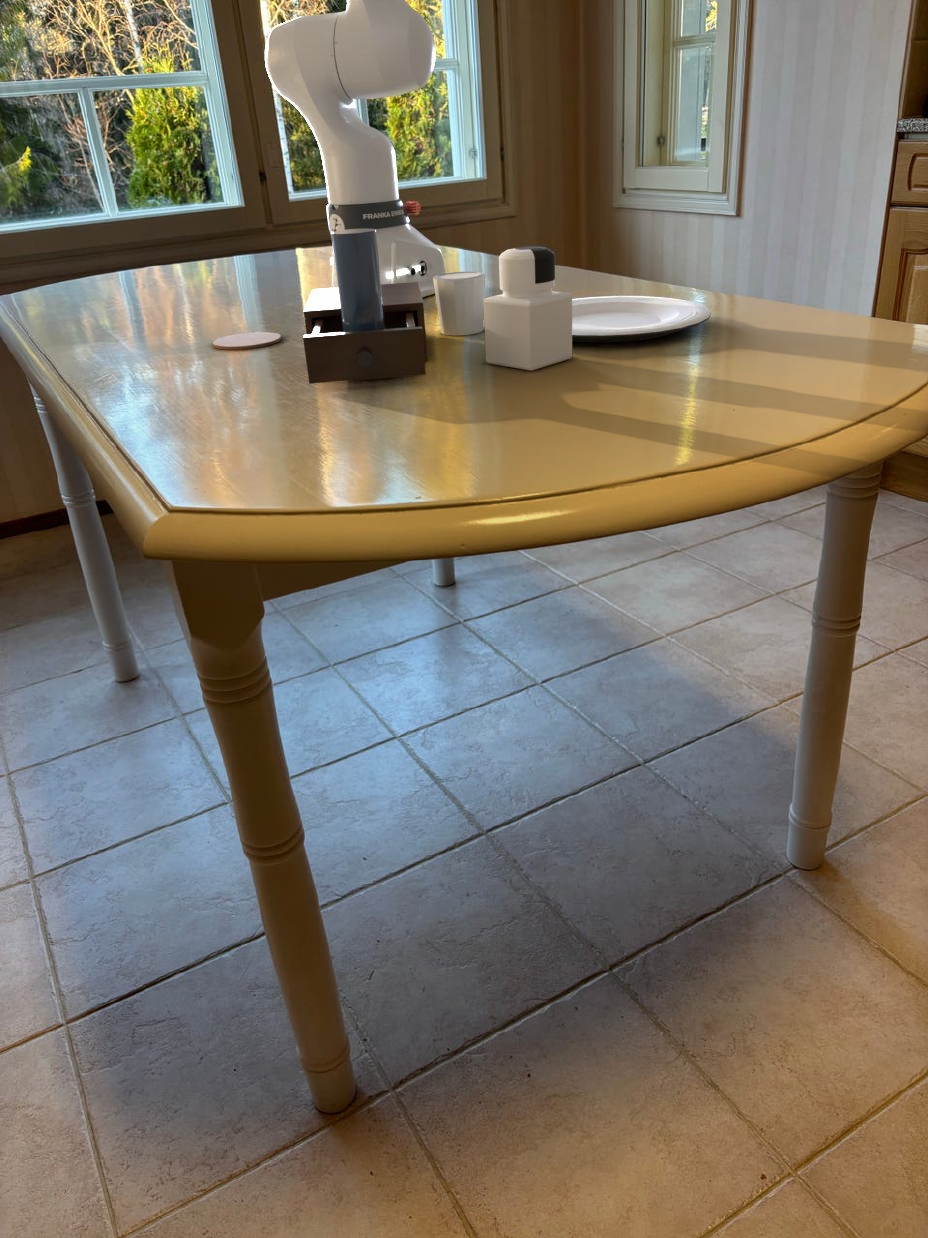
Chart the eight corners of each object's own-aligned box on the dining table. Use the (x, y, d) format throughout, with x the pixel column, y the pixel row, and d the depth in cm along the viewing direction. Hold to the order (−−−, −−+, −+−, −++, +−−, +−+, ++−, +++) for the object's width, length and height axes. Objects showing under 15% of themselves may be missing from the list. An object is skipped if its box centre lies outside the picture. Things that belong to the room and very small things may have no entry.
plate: (649, 302, 129) (650, 288, 128) (750, 333, 108) (752, 317, 107) (486, 323, 123) (485, 308, 122) (559, 359, 102) (559, 342, 101)
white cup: (482, 335, 115) (480, 278, 112) (431, 336, 117) (427, 280, 113) (492, 324, 121) (489, 270, 118) (442, 325, 123) (439, 271, 119)
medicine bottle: (526, 351, 106) (524, 242, 101) (573, 358, 102) (573, 245, 96) (484, 363, 102) (479, 250, 96) (531, 371, 98) (529, 253, 92)
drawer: (426, 377, 94) (422, 330, 92) (308, 386, 94) (301, 339, 92) (420, 345, 108) (417, 304, 106) (317, 353, 108) (312, 312, 105)
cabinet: (427, 361, 105) (423, 302, 102) (311, 369, 104) (303, 310, 101) (422, 334, 118) (418, 281, 115) (319, 341, 118) (312, 289, 115)
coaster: (257, 332, 126) (256, 329, 126) (294, 339, 120) (293, 336, 120) (200, 344, 121) (200, 341, 120) (236, 352, 115) (236, 349, 115)
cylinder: (370, 351, 102) (357, 227, 96) (396, 356, 99) (384, 228, 93) (338, 359, 99) (322, 232, 93) (364, 365, 96) (349, 234, 90)
